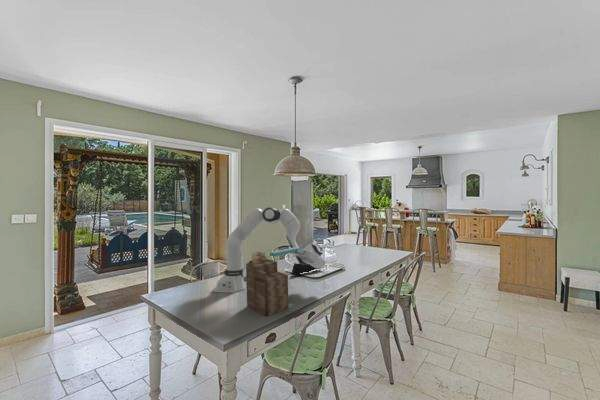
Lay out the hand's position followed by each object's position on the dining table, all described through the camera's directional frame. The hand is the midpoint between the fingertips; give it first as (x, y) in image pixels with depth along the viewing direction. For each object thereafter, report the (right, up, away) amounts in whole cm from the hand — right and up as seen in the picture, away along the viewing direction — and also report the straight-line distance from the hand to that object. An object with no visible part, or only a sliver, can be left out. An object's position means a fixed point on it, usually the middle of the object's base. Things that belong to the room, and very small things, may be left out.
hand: (294, 249), depth 185 cm
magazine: (+10, -31, +59) cm, 67 cm away
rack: (-16, -32, -14) cm, 39 cm away
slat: (-5, -2, -4) cm, 7 cm away
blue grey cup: (-34, -32, +54) cm, 72 cm away
